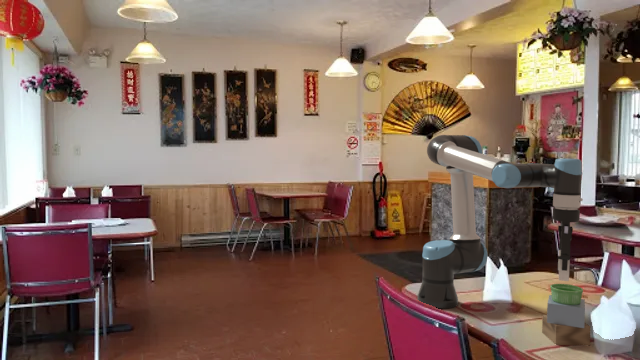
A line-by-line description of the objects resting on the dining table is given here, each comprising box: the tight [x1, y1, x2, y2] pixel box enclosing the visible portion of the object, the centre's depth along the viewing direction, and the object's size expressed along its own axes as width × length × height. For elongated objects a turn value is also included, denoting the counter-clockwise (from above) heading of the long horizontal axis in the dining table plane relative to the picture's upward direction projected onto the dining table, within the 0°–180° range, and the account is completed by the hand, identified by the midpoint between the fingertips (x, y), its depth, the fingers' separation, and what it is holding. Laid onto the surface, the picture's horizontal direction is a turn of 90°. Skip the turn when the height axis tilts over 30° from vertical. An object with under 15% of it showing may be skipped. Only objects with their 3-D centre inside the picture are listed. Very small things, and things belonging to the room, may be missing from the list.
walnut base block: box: [541, 314, 592, 346], centre depth 150 cm, size 10×10×6 cm
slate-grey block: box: [546, 294, 586, 328], centre depth 150 cm, size 10×10×6 cm
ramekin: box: [549, 283, 584, 305], centre depth 149 cm, size 9×9×4 cm
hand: (563, 275), depth 152 cm, fingers open, 13 cm apart
